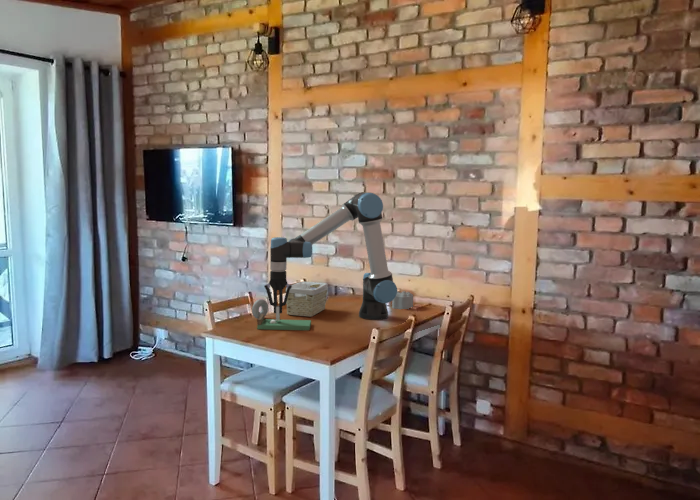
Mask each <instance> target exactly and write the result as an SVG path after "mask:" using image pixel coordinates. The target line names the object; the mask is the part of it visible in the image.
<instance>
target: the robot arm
mask: <svg viewBox="0 0 700 500" xmlns="http://www.w3.org/2000/svg"><path fill="white" fill-rule="evenodd" d="M383 210H384V203H383V200H382V199H381V197H380V196H379V195H377V193H376V194H375V193H374V192H359V193H356V194H355V195H354V196H352V197H351V198H349V199H348V200H347V201H346V202H344V203H343V204H342V205H341V207H340V208H339V209H337V210H335V211H333V212H332V213H331V214H329V215H328V216H327V217H324V218H323V219H322V220H320V221H319V222H318V223H316V224H314V225H313V226H311V227H310V228H308V229H307V230H305V231H304V232H302V233H301V234H299V235H297V236H296V237H295V238H291V239H289V240H288V239H287V238H286V237H284V236H281V237H275V236H274V237H272V238H271V239H270V249H269V250H270V261H269V262H270V264H269V265H270V267H269V269H270V272H269V277H270V278H269V282H268V283H267V284H265V285H264V289H265V291H266V294H267V298H268V303H269V305H270V306H273V313H274V314H275V319H276V321H279V320H281V318H280V317H281V314H282V313H283V307H284V306H287V298H288V294H289V291H290V289H291V287H292V285H293V284H289V282H288V281H287V271H286V270H287V265H288V264H287V259H290V258H292V259H293V258H294V259H298V258H299V259H300V258H303V259H306V258H311V257H312V256H313V245H314V244H315V243H317V242H319V241H320V240H322V239H324V238H325V237H327V236H328V235H329V234H331V233H332V232H334V231H336V230H337V229H339V228H340V227H342V226H343V225H345V224H346V223H348V222H349V221H354V220H356V219H358V224H359V225H361V226H362V229H363V230H362V231H363V236H364V241H365V242H364V243H365V247H366V252H367V253H366V254H367V259H368V264H369V271H370V272H364V273H363V278H362V280H363V281H362V303H361V305H360V308H359V311H358V317H359V318H361V319H365V320H372V321H373V320H375V321H376V320H377V321H379V320H385V319H388V318H389V311H388V307H387V304H388V303H390V302H392V300H393V299H394V298H395V297H396V295H397V291H398V288H397V285H396V282H394V278H393V273H392V271H389V268H388V267H389V266H388V261H387V257H386V256H387V255H386V251H385V244H384V239H383V233H382V226H381V222H382V220H383V218H384V217H383V214H382V213H383ZM285 287H286V288H287V291H286V290H285V294H284V295H285V296H284V299H283V290H284V289H286V288H285ZM270 288H271V289H273V296H272V293H271V289H270Z"/></svg>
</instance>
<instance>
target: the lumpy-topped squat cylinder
mask: <svg viewBox="0 0 700 500" xmlns="http://www.w3.org/2000/svg"><path fill="white" fill-rule="evenodd" d="M391 302H392V303H391V308H392V309H396V310H401V309H408V310H410V309H409V308H411V307H413V308H414V294H413V293H411V292H410V291H405V290H403V291H402V292H400V291H398V290H397V295H396V297H395V298H394V299H393V300H392V301H391ZM411 309H412V308H411Z"/></svg>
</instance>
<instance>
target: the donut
mask: <svg viewBox="0 0 700 500" xmlns="http://www.w3.org/2000/svg"><path fill="white" fill-rule="evenodd" d="M260 307H261V309H260ZM268 311H269V304H268V302H267V301H266V300H265V299H263V298H259V299H257V300H255V301H254V303H253V305H252V308H251V313H252V316H253V317H254V318H255V319H257V320H258V318H259V317H260V315H261V314H265V317H266V316H267V314H268Z"/></svg>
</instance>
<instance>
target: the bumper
mask: <svg viewBox="0 0 700 500" xmlns="http://www.w3.org/2000/svg"><path fill="white" fill-rule="evenodd" d="M265 317H266V316H265V314H261V315H260V317H259V318H258V319H257V320H256V321H257V325H261V324H262V322H263V321H264V319H265ZM257 325H256V326H257Z"/></svg>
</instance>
